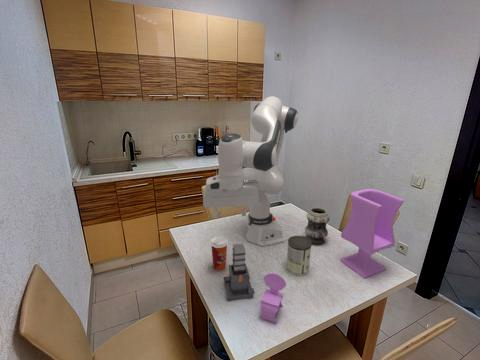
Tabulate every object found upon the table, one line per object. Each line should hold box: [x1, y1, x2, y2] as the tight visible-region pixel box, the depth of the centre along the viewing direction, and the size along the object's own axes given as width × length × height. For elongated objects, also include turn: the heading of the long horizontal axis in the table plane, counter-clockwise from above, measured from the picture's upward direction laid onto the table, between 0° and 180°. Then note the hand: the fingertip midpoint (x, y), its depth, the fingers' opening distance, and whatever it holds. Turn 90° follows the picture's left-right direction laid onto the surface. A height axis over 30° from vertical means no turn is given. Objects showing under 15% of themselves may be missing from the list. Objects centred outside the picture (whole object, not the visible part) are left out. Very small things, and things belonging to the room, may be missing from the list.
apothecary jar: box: [304, 206, 330, 246], centre depth 137 cm, size 12×12×18 cm
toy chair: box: [259, 272, 287, 324], centre depth 91 cm, size 8×9×15 cm
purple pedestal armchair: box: [339, 188, 405, 279], centre depth 114 cm, size 16×16×35 cm
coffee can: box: [285, 235, 313, 277], centre depth 115 cm, size 10×10×14 cm
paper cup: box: [210, 236, 229, 272], centre depth 115 cm, size 8×8×14 cm
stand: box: [223, 262, 256, 302], centre depth 102 cm, size 11×11×10 cm
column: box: [232, 243, 246, 275], centre depth 100 cm, size 4×4×18 cm
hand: (231, 216), depth 94 cm, fingers open, 8 cm apart
